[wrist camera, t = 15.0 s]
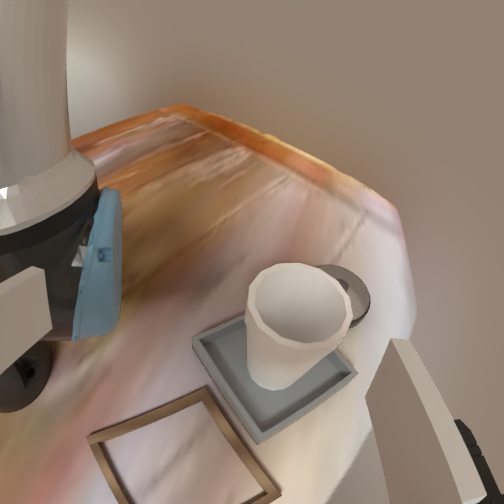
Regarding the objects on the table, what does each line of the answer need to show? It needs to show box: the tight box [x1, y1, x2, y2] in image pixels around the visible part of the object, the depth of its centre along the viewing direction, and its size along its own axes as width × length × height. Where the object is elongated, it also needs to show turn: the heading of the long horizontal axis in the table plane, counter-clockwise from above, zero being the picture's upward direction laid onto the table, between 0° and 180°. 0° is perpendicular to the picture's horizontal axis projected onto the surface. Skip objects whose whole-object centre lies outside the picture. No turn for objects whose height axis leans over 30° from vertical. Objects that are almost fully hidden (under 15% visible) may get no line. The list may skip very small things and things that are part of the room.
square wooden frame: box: [86, 388, 282, 504], centre depth 25 cm, size 15×15×1 cm
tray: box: [192, 314, 358, 445], centre depth 35 cm, size 14×14×3 cm
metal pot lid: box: [316, 265, 370, 329], centre depth 43 cm, size 11×11×4 cm
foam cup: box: [244, 263, 353, 391], centre depth 31 cm, size 10×9×13 cm
